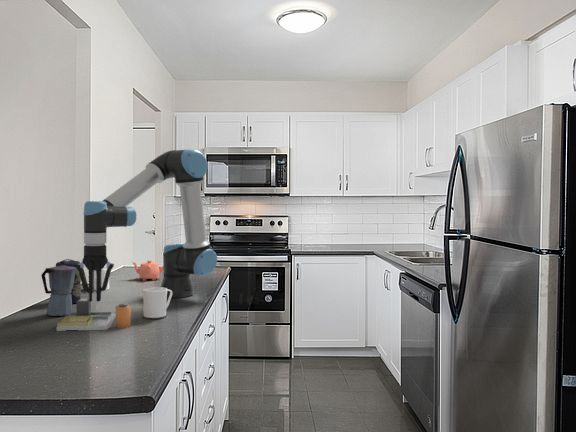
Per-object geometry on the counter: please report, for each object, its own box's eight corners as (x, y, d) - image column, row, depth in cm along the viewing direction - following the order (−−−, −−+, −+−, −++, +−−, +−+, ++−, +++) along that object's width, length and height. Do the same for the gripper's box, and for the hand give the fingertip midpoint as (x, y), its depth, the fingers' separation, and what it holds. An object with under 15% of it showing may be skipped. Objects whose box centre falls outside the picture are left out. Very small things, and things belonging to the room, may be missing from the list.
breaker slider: (90, 314, 183) (90, 298, 183) (88, 316, 180) (88, 300, 179) (79, 314, 183) (79, 298, 183) (76, 317, 179) (76, 300, 179)
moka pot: (84, 311, 195) (84, 259, 194) (54, 320, 180) (53, 264, 180) (64, 309, 198) (64, 258, 197) (33, 318, 184) (32, 263, 183)
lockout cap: (131, 324, 178) (131, 302, 177) (129, 328, 173) (129, 305, 173) (117, 324, 177) (117, 303, 176) (114, 328, 172) (114, 306, 172)
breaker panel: (115, 317, 187) (115, 310, 187) (107, 329, 170) (107, 321, 170) (69, 318, 184) (69, 310, 184) (56, 331, 167) (56, 322, 167)
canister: (71, 305, 204) (71, 261, 203) (50, 304, 206) (50, 260, 205) (85, 300, 213) (85, 258, 212) (65, 299, 215) (65, 257, 214)
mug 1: (86, 292, 231) (86, 270, 230) (93, 287, 243) (93, 267, 242) (104, 292, 232) (104, 270, 231) (110, 287, 244) (110, 267, 243)
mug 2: (145, 320, 183) (145, 292, 183) (140, 315, 191) (140, 288, 190) (175, 317, 188) (175, 290, 188) (169, 312, 196) (169, 286, 195)
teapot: (152, 276, 277) (153, 258, 276) (167, 279, 270) (167, 260, 269) (130, 280, 265) (130, 260, 265) (145, 282, 258) (145, 263, 258)
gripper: (116, 243, 185) (115, 307, 186) (78, 243, 183) (78, 308, 184) (112, 245, 178) (112, 312, 179) (73, 245, 176) (73, 313, 177)
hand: (95, 310), depth 182 cm, fingers closed
